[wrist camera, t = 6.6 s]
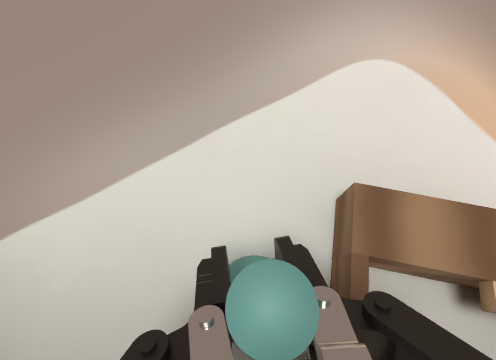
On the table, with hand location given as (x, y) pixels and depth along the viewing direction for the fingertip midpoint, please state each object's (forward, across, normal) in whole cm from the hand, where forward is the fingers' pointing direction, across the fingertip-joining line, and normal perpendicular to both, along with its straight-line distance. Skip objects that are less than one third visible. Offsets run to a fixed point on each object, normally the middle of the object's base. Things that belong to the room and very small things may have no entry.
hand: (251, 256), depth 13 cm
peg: (+2, 0, +5) cm, 6 cm away
